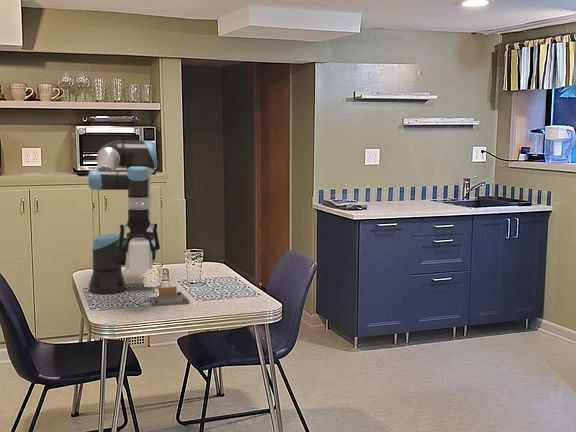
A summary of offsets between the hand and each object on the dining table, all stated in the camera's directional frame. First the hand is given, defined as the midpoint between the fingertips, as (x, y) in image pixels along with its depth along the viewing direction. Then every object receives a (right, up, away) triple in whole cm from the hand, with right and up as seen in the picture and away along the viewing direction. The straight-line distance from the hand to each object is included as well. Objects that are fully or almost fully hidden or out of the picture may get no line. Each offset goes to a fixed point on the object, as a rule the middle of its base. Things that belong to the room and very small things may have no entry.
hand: (138, 268), depth 263 cm
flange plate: (+8, -14, +16) cm, 23 cm away
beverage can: (0, -1, 0) cm, 1 cm away
